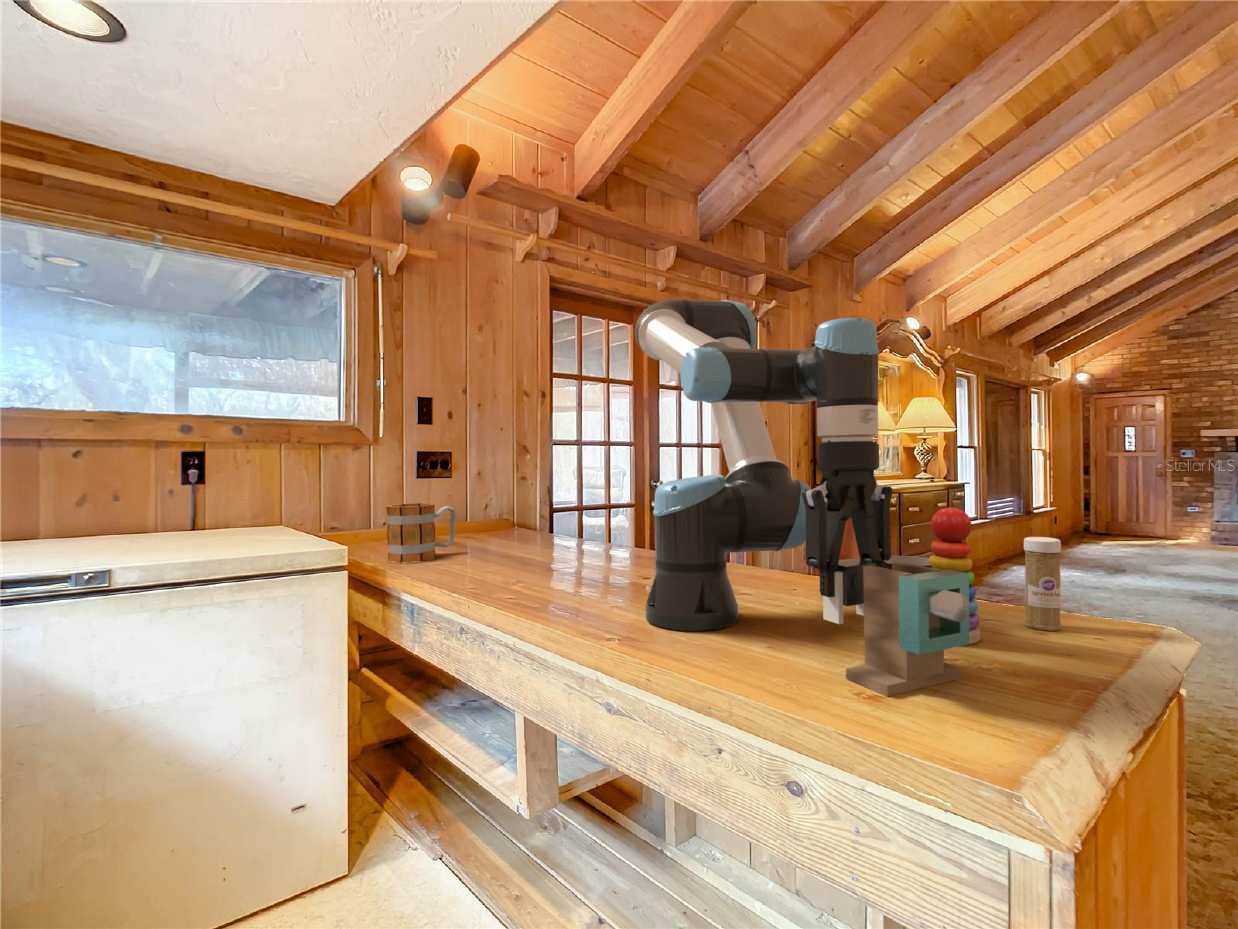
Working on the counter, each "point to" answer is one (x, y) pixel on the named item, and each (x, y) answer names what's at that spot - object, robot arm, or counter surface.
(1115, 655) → the counter surface
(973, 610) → the stacking toy
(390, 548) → the mug
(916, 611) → the spacer
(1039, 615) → the sprinkles bottle
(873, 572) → the bearing block
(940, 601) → the shaft
